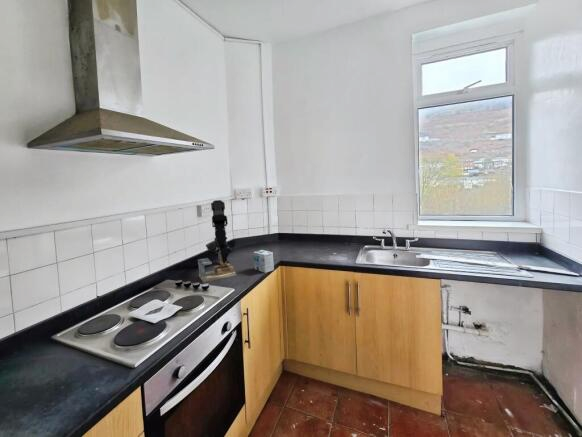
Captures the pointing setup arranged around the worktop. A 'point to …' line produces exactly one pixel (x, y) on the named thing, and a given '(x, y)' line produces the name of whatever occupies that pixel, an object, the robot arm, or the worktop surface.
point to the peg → (222, 262)
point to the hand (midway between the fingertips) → (223, 262)
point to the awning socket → (217, 272)
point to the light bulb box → (263, 261)
